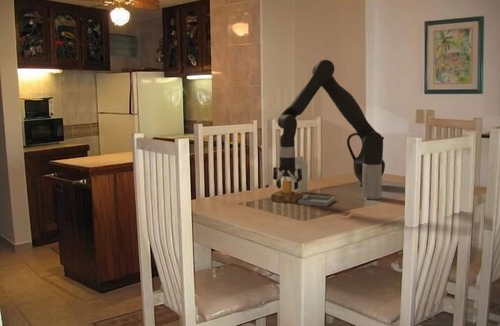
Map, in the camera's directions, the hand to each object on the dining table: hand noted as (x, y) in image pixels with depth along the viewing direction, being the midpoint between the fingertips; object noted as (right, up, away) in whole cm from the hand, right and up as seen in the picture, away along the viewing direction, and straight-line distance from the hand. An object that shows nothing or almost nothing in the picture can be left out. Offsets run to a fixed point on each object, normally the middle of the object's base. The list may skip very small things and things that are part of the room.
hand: (287, 188), depth 246 cm
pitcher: (+46, -1, +37) cm, 59 cm away
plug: (0, -6, +1) cm, 6 cm away
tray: (+14, -7, -6) cm, 16 cm away
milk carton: (+7, -3, +23) cm, 24 cm away
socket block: (0, -6, +1) cm, 6 cm away
